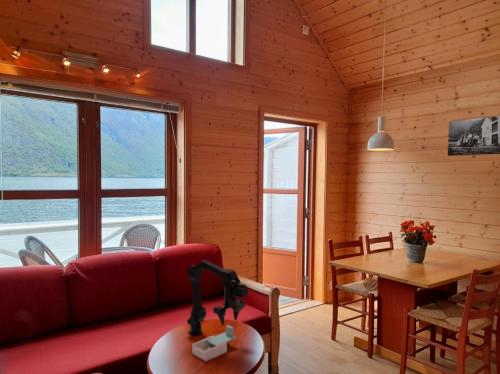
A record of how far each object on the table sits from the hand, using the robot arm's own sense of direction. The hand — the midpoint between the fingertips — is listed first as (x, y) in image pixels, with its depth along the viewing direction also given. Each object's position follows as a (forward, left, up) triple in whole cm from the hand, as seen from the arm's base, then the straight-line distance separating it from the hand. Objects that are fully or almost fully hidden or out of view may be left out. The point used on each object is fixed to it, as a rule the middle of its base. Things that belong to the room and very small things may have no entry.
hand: (229, 322), depth 191 cm
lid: (0, -6, -8) cm, 10 cm away
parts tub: (0, -14, -12) cm, 18 cm away
